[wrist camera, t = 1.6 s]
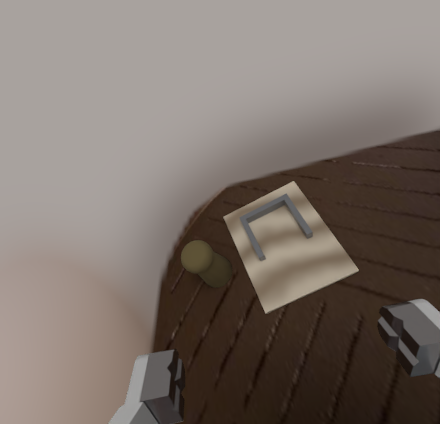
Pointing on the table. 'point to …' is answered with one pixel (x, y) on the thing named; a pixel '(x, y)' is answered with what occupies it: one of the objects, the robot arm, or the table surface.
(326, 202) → the table surface
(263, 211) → the frame
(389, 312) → the robot arm
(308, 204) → the board
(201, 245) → the olive pawn
